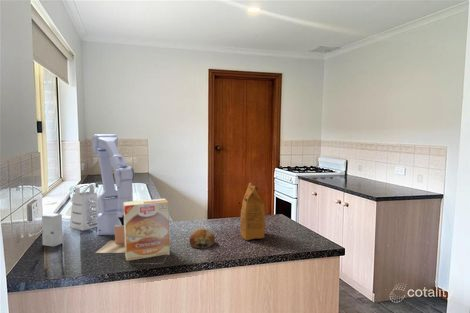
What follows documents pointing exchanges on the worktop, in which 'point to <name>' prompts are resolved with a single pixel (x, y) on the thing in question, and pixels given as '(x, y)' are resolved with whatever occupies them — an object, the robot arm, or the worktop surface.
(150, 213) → the coffeecake box
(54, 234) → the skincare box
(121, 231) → the tile
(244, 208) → the coffee package
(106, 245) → the mat
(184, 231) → the worktop surface
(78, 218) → the grater
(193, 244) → the bread roll
